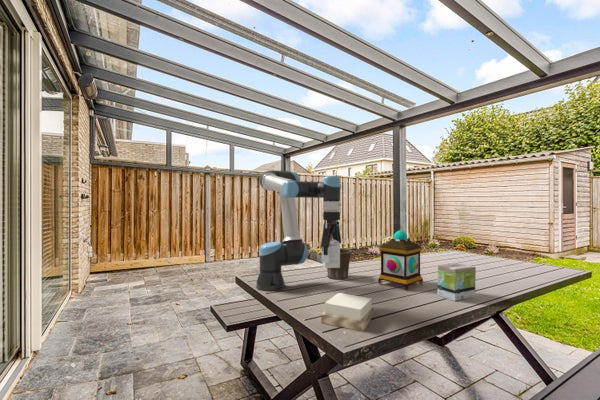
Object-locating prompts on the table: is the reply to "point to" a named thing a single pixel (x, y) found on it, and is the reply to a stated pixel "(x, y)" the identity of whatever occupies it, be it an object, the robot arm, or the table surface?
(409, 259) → the decorative lantern
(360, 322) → the tower base slab
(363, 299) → the tower top slab
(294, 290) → the table surface
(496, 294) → the table surface
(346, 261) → the plant pot
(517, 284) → the table surface
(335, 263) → the light bulb box
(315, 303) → the table surface
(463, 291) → the tea box
